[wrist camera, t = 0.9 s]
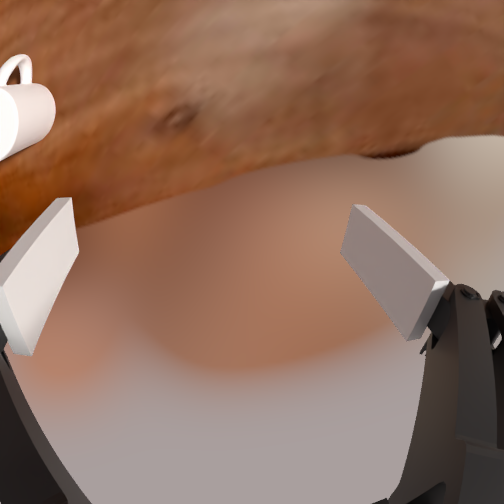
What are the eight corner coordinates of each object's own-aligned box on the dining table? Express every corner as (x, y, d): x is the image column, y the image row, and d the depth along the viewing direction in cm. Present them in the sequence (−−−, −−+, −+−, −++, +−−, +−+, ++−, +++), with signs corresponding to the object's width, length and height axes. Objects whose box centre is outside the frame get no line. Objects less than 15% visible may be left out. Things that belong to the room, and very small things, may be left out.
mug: (-36, 166, 21) (-33, 59, 16) (6, 145, 30) (11, 60, 25) (17, 163, 23) (24, 46, 18) (54, 143, 32) (62, 52, 27)
